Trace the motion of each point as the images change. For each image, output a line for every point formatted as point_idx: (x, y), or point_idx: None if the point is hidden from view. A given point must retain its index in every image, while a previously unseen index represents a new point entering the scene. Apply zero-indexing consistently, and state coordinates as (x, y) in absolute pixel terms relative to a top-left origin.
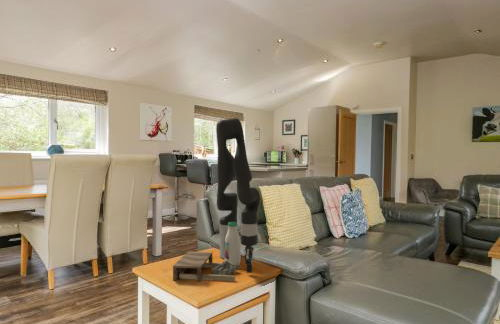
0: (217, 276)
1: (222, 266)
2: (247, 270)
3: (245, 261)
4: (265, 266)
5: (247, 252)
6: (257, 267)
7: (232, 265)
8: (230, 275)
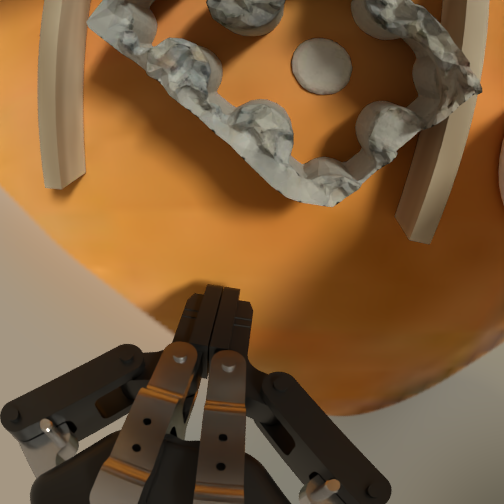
0: (47, 18)
1: (366, 8)
2: (186, 304)
3: (76, 370)
4: (392, 376)
5: (34, 471)
6: (392, 341)
7: (433, 147)
8: (54, 144)
